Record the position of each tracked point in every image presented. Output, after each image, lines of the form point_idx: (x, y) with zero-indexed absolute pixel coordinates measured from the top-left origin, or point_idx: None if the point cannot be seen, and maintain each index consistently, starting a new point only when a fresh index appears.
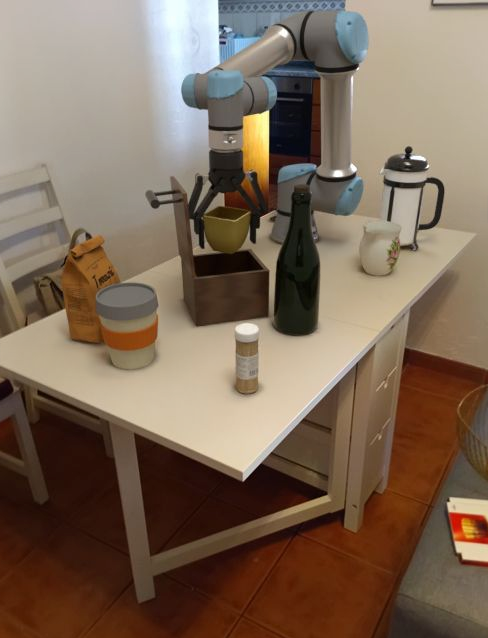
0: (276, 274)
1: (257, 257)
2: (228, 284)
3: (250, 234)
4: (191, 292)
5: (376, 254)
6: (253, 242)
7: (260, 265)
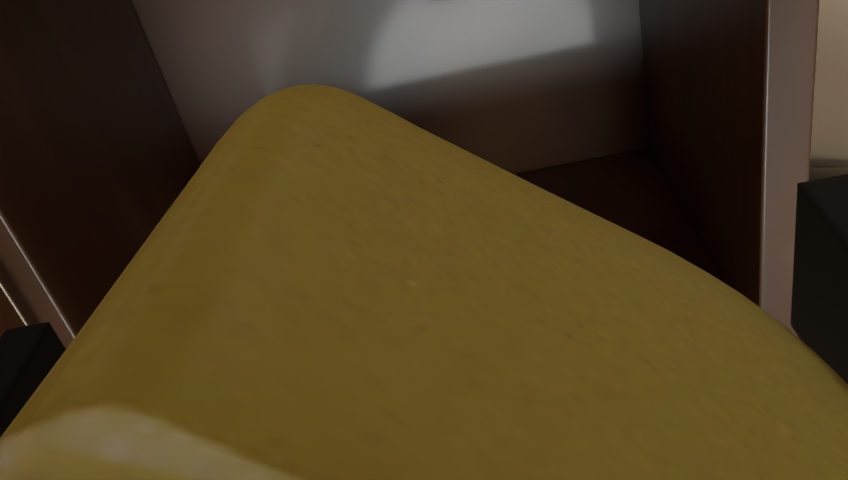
0: None
1: (807, 46)
2: None
3: (845, 279)
4: None
5: None
6: (805, 335)
7: (758, 256)
